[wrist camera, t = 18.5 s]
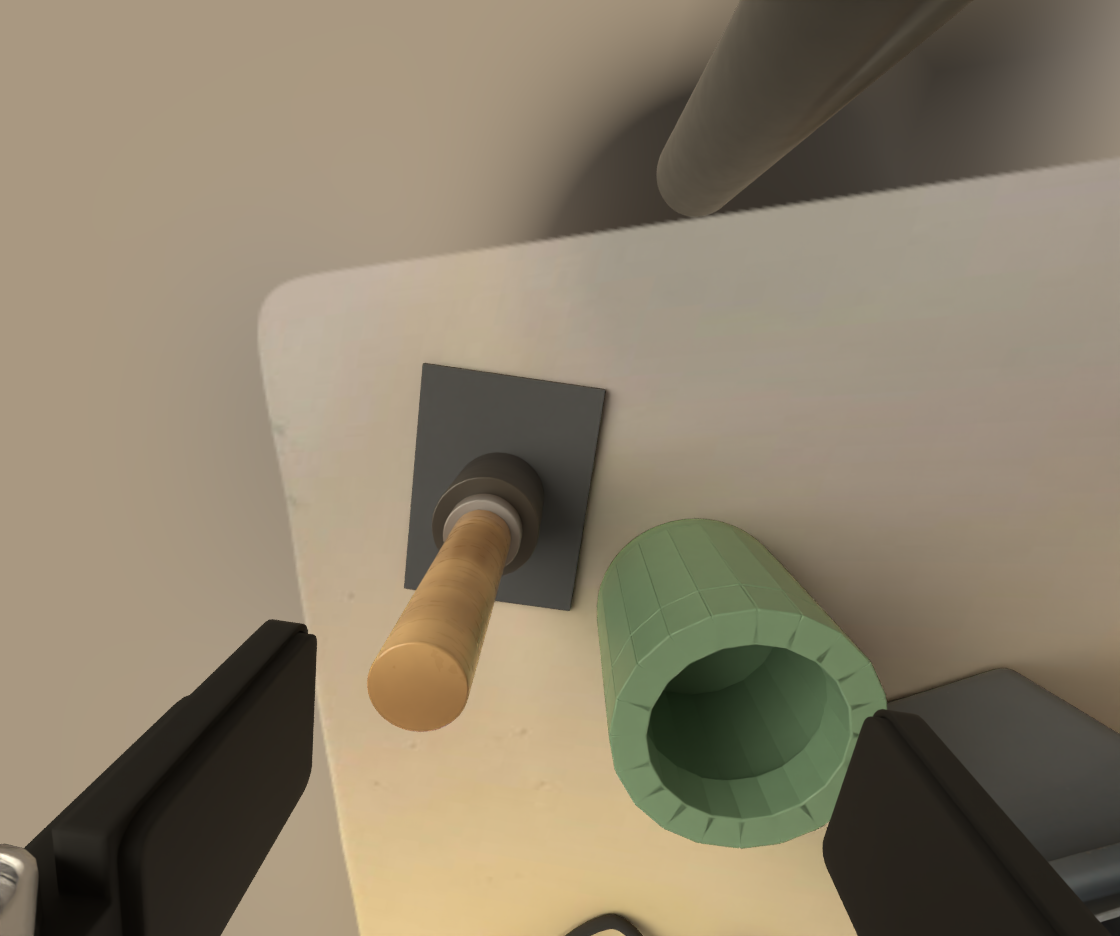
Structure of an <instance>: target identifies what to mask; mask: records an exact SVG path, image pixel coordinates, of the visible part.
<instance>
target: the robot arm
mask: <svg viewBox="0 0 1120 936" xmlns="http://www.w3.org/2000/svg"><path fill="white" fill-rule="evenodd" d="M316 652H317V639H316V636H315V635H313V634H308V629H307V626H306V625H304V624H300V623H293V622H286V621H279V620H273V619H272V620H268V621H266V622H265V623H264V624H263V625H262V626H261V627H260V628H259V629H258V630H257V631H256V632H255V633H254V634H252V635H251V636H250V637H249V638H248V639H247V640H246V641H245V642H244V643H243V644H242V645H241V646H240V647H239V648H238V649H237V650H236V651H235V652H234V653H233V654H232V655H231V656H230V657H229V658H228V659H227V660H226V661H225V662H224V663H223V664H221V665H220V666H219V667H218V669H216V670H215V672H213V673H212V674H211V675H210V676H209V677H208V678H207V679H206V680H205V681H204V682H203V683H202V684H201V685H200V686H199V687H198V688H197V689H196V690H195V691H194V692H193V693H192V694H190V695H189V696H186V697H184V698H182V699H181V700H180V701H178V702H177V703H176V704H175V705H173V707H171V708H170V709H169V710H168V711H167V712H166V713H165V714H164V715H163V716H162V717H161V718H160V719H159V720H158V721H157V722H156V723H155V724H153V726H151V727H150V728H149V729H148V730H147V731H146V732H145V733H144V734H143V735H142V736H141V737H140V738H139V739H138V740H137V741H136V742H135V743H134V744H133V745H132V746H131V747H129V749H127V750H126V751H125V752H124V753H123V754H122V755H121V756H120V757H119V758H118V759H117V760H116V761H115V762H114V763H113V764H112V765H111V766H109V768H107V769H106V770H105V771H104V772H103V773H102V774H101V775H100V776H99V777H98V778H97V779H96V780H95V781H94V782H93V783H92V784H91V785H90V786H89V787H87V788H86V790H85V791H83V792H82V793H81V794H80V795H79V796H78V797H77V798H76V799H75V800H74V801H73V802H72V803H71V804H70V805H69V806H68V807H66V808H65V809H64V810H63V811H62V812H61V813H60V815H58V816H57V817H56V818H55V819H54V820H53V821H52V822H51V823H50V824H49V825H48V826H47V827H46V828H44V830H42V831H41V832H40V833H39V834H38V835H37V836H36V837H35V838H34V839H33V840H32V841H31V842H30V843H29V844H28V845H27V846H26V847H25V848H21V847H17V846H13V845H8V844H0V936H220V935H221V934H222V932H223V930H224V928H225V927H226V925H227V923H228V922H229V920H230V918H231V916H232V915H233V913H234V911H235V910H236V908H237V906H238V904H239V902H240V901H241V899H242V897H243V896H244V894H245V892H246V891H247V889H248V887H249V885H250V884H251V882H252V880H253V878H254V877H255V875H256V873H257V872H258V869H259V868H260V866H261V865H262V863H263V861H264V859H265V857H266V856H267V854H268V852H269V851H270V849H271V847H272V846H273V844H274V842H275V840H276V839H277V837H278V835H279V834H280V832H281V830H282V828H283V826H284V825H285V823H286V821H287V820H288V818H289V816H290V814H291V813H292V811H293V809H294V808H295V806H296V804H297V802H298V801H299V799H300V797H301V795H302V794H303V792H304V790H305V788H306V786H307V783H308V780H309V777H310V773H311V768H312V750H313V725H314V724H313V723H314V701H315V677H316ZM823 857H824V861H825V864H826V867H827V869H828V872H829V874H830V876H831V878H832V880H833V883H834V885H835V887H836V889H837V891H838V893H839V896H840V898H841V900H842V902H843V904H844V907H845V909H846V911H847V913H848V915H849V917H850V920H851V922H852V924H853V926H854V928H855V930H856V933H857V935H858V936H1112V935H1111V934H1110V933H1109V932H1108V930H1107V929H1106V928H1105V927H1104V926H1103V925H1102V924H1101V922H1100V921H1099V920H1098V919H1097V918H1096V917H1095V916H1094V914H1093V913H1092V912H1091V911H1090V910H1089V909H1088V907H1087V906H1086V905H1085V904H1084V903H1083V902H1082V901H1081V899H1080V898H1079V897H1078V896H1077V895H1076V894H1075V893H1074V891H1073V890H1072V889H1071V888H1070V887H1069V886H1068V885H1067V883H1066V882H1065V881H1064V880H1063V879H1062V878H1061V877H1060V875H1059V874H1058V873H1057V872H1056V871H1055V870H1054V869H1053V867H1052V866H1051V865H1050V864H1049V863H1048V862H1047V861H1046V859H1045V858H1044V857H1043V856H1042V855H1041V854H1040V852H1039V851H1038V850H1037V849H1036V848H1035V847H1034V846H1033V844H1032V843H1031V842H1030V841H1029V840H1028V839H1027V838H1026V836H1025V835H1024V834H1023V833H1022V832H1021V831H1020V830H1019V828H1018V827H1017V826H1016V825H1015V824H1014V823H1013V822H1012V820H1011V819H1010V818H1009V817H1008V816H1007V815H1006V814H1005V812H1004V811H1003V810H1002V809H1001V808H1000V807H999V805H998V804H997V803H996V802H995V801H994V800H993V799H992V797H991V796H990V795H989V794H988V793H987V792H986V791H985V789H984V788H983V787H982V786H981V785H980V784H979V783H978V781H977V780H976V779H975V778H974V777H973V776H972V775H971V773H970V772H969V771H968V770H967V769H966V768H965V767H964V765H963V764H962V763H961V762H960V761H959V760H958V759H957V757H956V756H955V755H954V754H953V753H952V752H951V750H950V749H949V748H948V747H947V746H946V745H945V744H944V742H943V741H942V740H941V739H940V738H939V737H938V736H937V734H936V733H935V732H934V731H933V730H932V729H931V728H930V726H929V725H928V724H927V723H926V722H925V721H924V720H923V719H922V718H921V717H920V716H919V715H916V714H913V713H906V712H900V711H893V710H886V709H880V710H877V711H876V712H875V713H874V715H873V717H872V716H870V717H867V718H866V719H865V720H864V722H863V724H862V727H861V730H860V733H859V736H858V739H857V742H856V745H855V748H854V751H853V754H852V757H851V760H850V763H849V766H848V769H847V772H846V775H845V777H844V780H843V783H842V786H841V789H840V792H839V795H838V798H837V801H836V804H835V807H834V810H833V813H832V816H831V819H830V822H829V825H828V828H827V831H826V834H825V836H824V840H823Z"/></svg>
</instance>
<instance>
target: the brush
mask: <svg viewBox="0 0 1120 936" xmlns="http://www.w3.org/2000/svg"><path fill="white" fill-rule="evenodd" d="M543 504H544V490H543V486H542V483H541V480H540V478H539V476H538V474H537V473H536V471H535V470H534V469H533V468H532V467H531V466H530V465H529V464H528V463H527V462H526V461H524V460H523V459H521V458H519V457H517V456H515V455H512V454H508V453H500V452H496V453H488V454H484V455H481V456H479V457H477V458H475V459H474V460H472V461H471V462H469V463H468V464H467V465H466V466H465V467H464V468H463V470H462V471H461V472H460V473H459V475H458V476H457V477H456V479H455V480H454V481H453V482H452V484H451V485H450V486H449V488H448V489H447V490H446V491H445V493H444V494H443V495H442V497H441V498H440V500H439V501H438V503H437V505H436V507H435V510H434V513H433V517H432V535H433V539H434V542H435V544H436V547H437V549H438V551H439V552H438V554H437V556H436V557H435V559H434V561H433V563H432V564H431V566H430V568H429V569H428V571H427V573H426V574H425V576H424V578H423V579H422V581H421V583H420V584H419V586H418V588H417V590H416V591H415V593H414V595H413V596H412V598H411V600H410V601H409V603H408V605H407V606H406V608H405V610H404V611H403V613H402V615H401V617H400V618H399V620H398V622H397V623H396V625H395V627H394V628H393V630H392V632H391V633H390V635H389V637H388V638H387V640H386V642H385V644H384V645H383V647H382V649H381V650H380V652H379V654H378V655H377V657H376V659H375V660H374V662H373V664H372V666H371V668H370V670H369V674H368V679H367V688H368V694H369V697H370V700H371V702H372V704H373V706H374V707H375V709H376V710H377V711H378V713H379V714H380V715H381V716H382V717H383V718H384V719H386V720H387V721H388V722H390V723H392V724H393V725H395V726H397V727H400V728H402V729H405V730H410V731H417V732H427V731H433V730H437V729H440V728H442V727H444V726H446V725H448V724H450V723H451V722H452V721H454V720H455V719H456V718H457V717H458V716H459V715H460V714H461V712H462V711H463V709H464V707H465V705H466V703H467V700H468V696H469V693H470V689H471V685H472V682H473V678H474V675H475V671H476V667H477V664H478V660H479V656H480V653H481V649H482V645H483V642H484V638H485V635H486V631H487V627H488V624H489V620H490V616H491V613H492V609H493V605H494V602H495V598H496V595H497V591H498V587H499V584H500V580H501V577H502V576H505V575H508V574H510V573H513V572H514V571H516V570H518V569H519V568H520V567H521V566H523V565H524V564H525V563H526V562H527V561H528V560H529V558H530V557H531V555H532V554H533V552H534V550H535V548H536V545H537V542H538V537H539V531H540V524H541V518H542V511H543Z"/></svg>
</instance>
